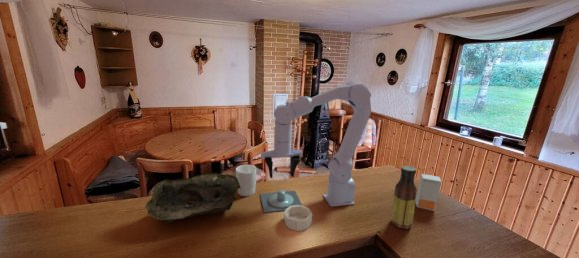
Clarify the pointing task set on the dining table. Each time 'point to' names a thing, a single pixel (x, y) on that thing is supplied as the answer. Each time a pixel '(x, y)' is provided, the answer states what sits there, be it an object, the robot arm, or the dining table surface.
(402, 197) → the sauce bottle
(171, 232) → the dining table surface
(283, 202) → the lid
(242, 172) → the white cup
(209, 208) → the hollow geode rock
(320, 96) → the robot arm
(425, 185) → the skincare box
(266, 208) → the mat
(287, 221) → the bowl
